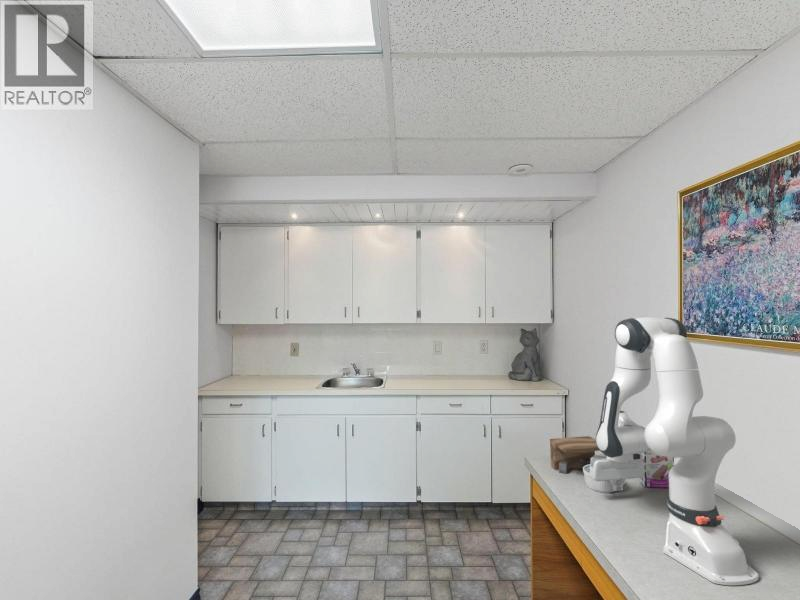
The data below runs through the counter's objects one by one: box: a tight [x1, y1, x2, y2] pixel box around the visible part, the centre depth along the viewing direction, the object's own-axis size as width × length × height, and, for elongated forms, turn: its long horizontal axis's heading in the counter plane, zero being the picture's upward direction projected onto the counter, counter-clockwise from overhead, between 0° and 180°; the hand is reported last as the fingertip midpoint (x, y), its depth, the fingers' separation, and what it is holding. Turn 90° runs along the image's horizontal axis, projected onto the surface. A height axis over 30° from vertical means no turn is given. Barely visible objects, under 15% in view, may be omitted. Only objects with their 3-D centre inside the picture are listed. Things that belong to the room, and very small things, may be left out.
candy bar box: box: [639, 449, 675, 489], centre depth 163 cm, size 11×5×16 cm, turn 84°
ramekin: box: [582, 464, 619, 494], centre depth 163 cm, size 13×13×7 cm
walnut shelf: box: [549, 435, 601, 475], centre depth 179 cm, size 14×19×12 cm
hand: (617, 490), depth 153 cm, fingers closed
